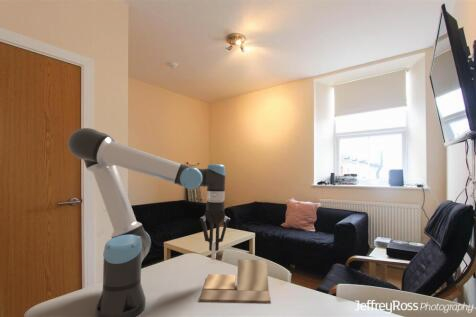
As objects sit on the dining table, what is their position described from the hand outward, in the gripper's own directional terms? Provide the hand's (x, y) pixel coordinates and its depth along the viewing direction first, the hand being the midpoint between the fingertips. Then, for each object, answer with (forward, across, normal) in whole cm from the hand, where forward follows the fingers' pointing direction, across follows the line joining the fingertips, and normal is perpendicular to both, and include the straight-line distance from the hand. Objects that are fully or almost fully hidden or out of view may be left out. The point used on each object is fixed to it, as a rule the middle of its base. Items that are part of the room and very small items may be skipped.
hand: (213, 258), depth 101 cm
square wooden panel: (+6, +16, -2) cm, 17 cm away
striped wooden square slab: (+10, +3, -1) cm, 11 cm away
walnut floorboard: (+10, +10, -11) cm, 18 cm away
